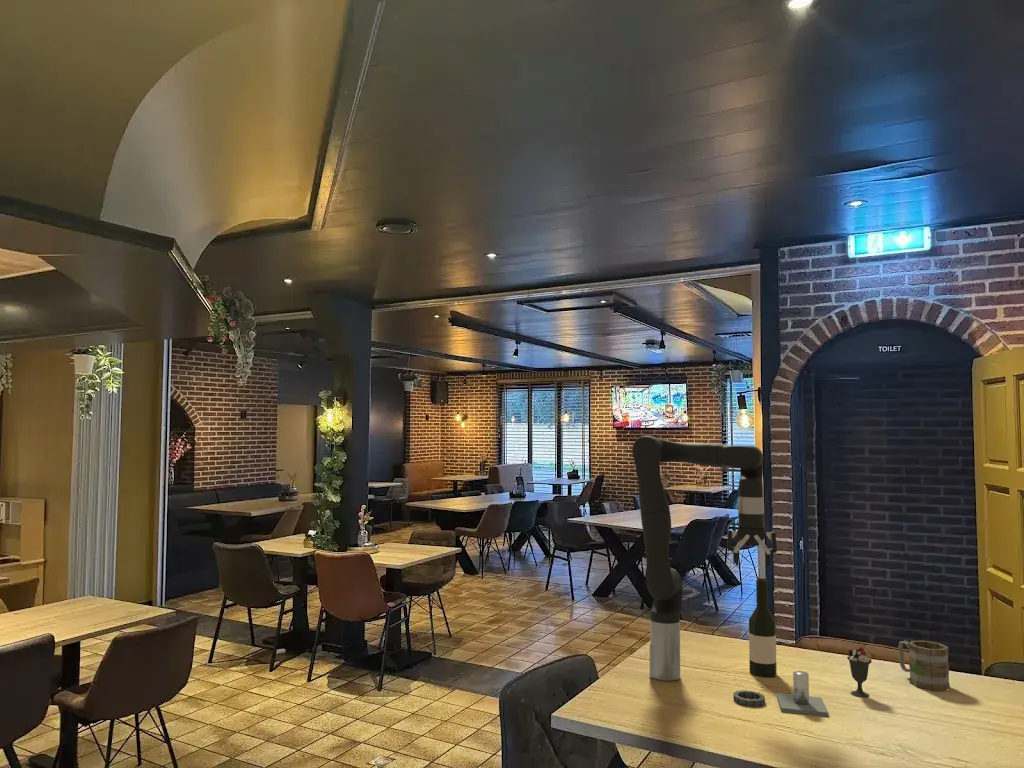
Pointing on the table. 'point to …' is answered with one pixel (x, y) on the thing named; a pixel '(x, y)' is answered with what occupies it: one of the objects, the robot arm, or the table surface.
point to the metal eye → (757, 700)
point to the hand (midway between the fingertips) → (751, 566)
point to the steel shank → (801, 687)
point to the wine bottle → (762, 635)
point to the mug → (926, 664)
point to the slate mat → (813, 708)
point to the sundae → (859, 669)
